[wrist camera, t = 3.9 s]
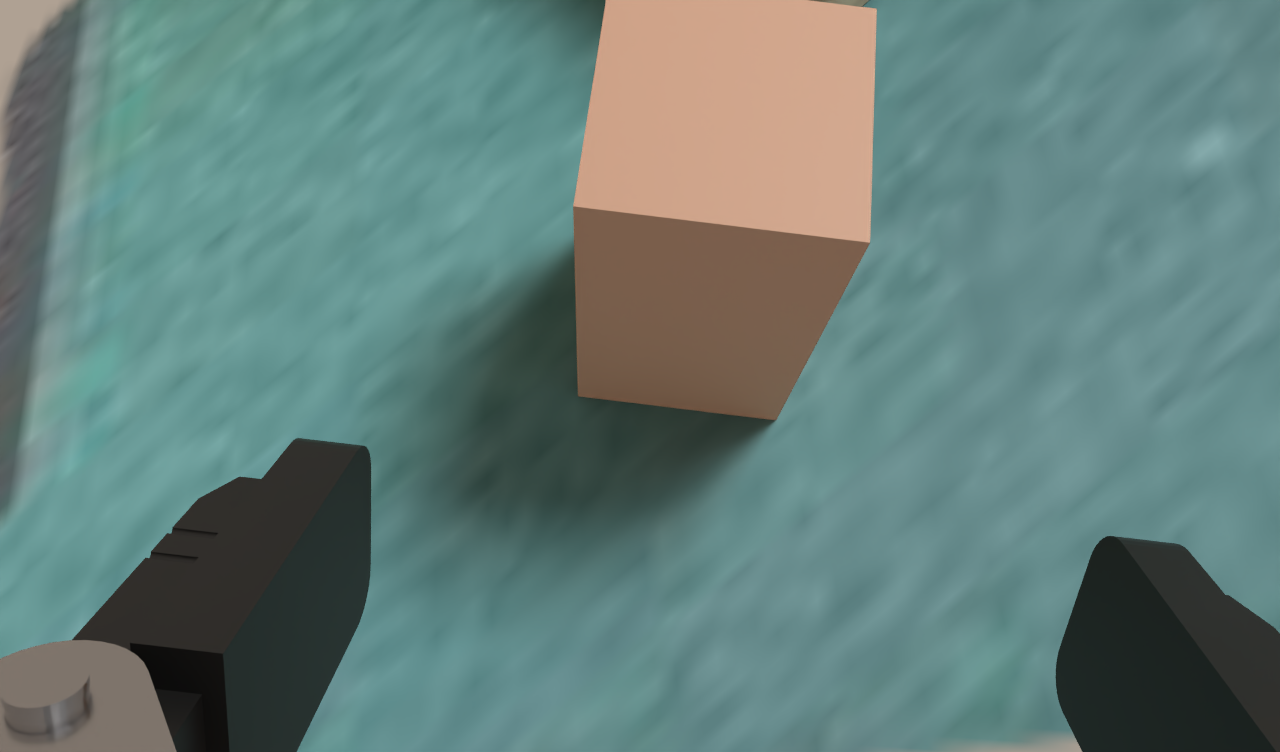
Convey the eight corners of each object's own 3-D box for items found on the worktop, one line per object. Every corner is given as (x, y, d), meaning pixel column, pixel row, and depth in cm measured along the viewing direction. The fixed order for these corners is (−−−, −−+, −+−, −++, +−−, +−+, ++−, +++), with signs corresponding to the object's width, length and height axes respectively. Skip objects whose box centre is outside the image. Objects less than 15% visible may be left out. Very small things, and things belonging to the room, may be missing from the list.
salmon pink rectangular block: (786, 246, 27) (877, 8, 19) (776, 420, 25) (870, 242, 17) (602, 223, 27) (609, -25, 19) (578, 396, 25) (573, 206, 17)
